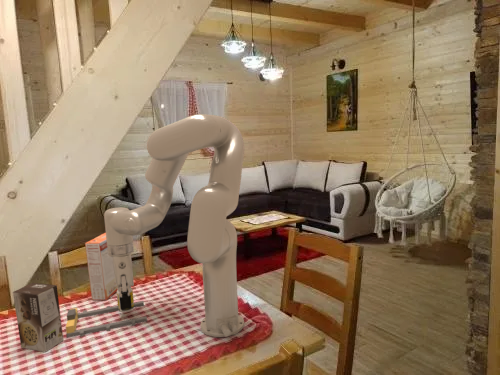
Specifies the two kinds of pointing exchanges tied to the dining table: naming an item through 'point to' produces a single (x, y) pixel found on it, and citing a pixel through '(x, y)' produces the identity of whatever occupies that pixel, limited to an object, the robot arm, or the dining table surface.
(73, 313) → the long yellow crossbar
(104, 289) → the cracker box
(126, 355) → the dining table surface
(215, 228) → the robot arm
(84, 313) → the gray parallel rail frame
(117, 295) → the supplement bottle
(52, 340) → the coffee box
